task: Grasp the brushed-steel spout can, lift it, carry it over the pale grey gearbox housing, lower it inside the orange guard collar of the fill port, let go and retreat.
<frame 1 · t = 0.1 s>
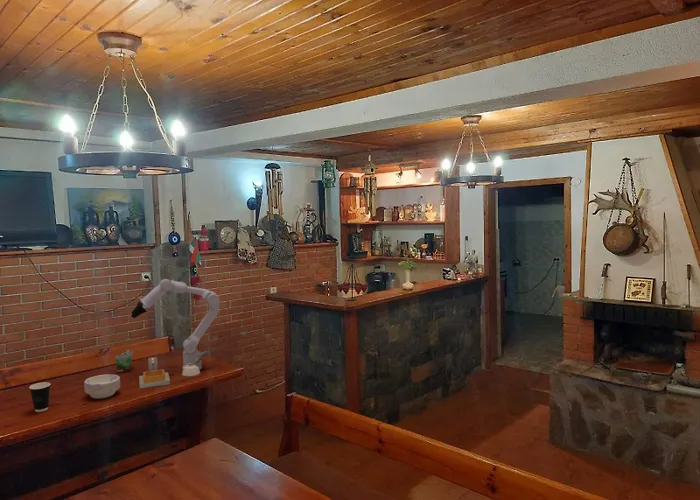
hand: (132, 315, 264), 32 cm above the table, tool tilted 50°, fingers open, 7 cm apart
dixie cup: (41, 410, 223), on the table
food container: (127, 370, 276), on the table
paper bowls: (103, 395, 240), on the table
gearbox: (154, 381, 257), on the table
spout can: (153, 372, 271), on the table
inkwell: (197, 371, 273), on the table
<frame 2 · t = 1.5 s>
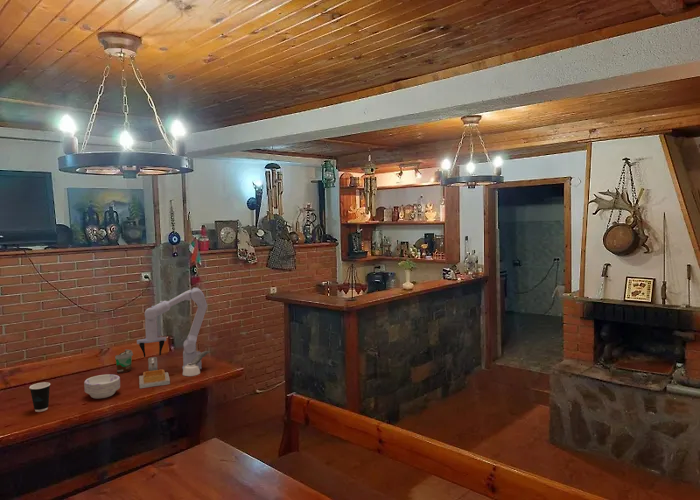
hand: (152, 355, 271), 9 cm above the table, tool pointing down, fingers open, 7 cm apart
nothing on the table moved.
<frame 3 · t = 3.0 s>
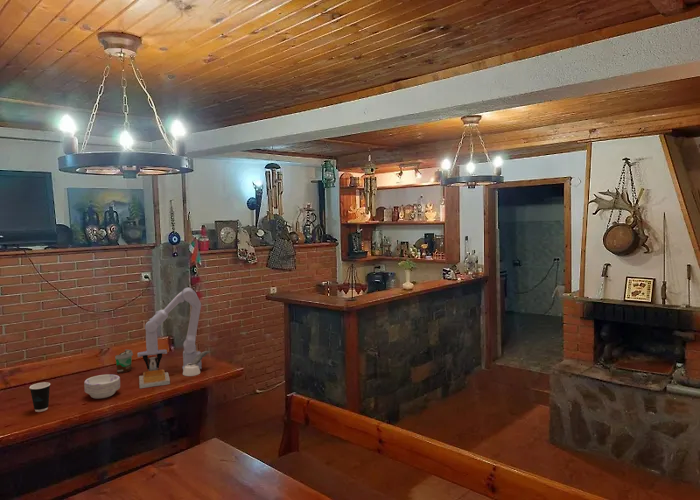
hand: (153, 368, 271), 2 cm above the table, tool pointing down, fingers closed on spout can, 4 cm apart
spout can: (153, 372, 271), on the table, touching gripper
everything else where it was.
when the fingers open (5 cm above the table, at t = 7.5 s): spout can stays where it is, resting on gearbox.
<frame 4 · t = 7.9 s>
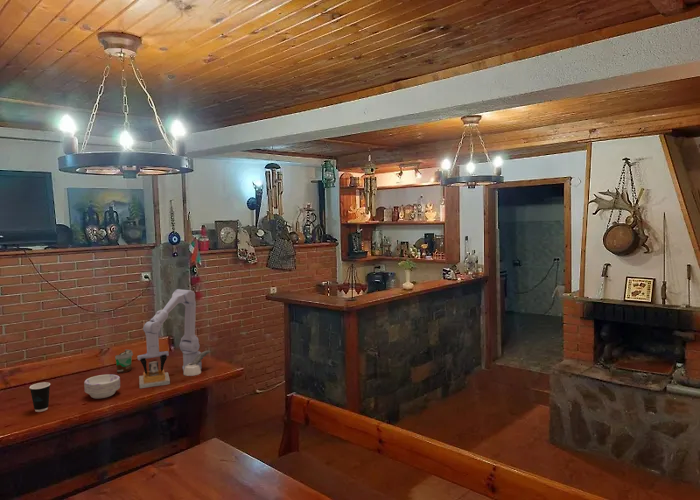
hand: (153, 371, 256), 5 cm above the table, tool pointing down, fingers open, 7 cm apart
spout can: (154, 378, 257), point 2 cm above the table, touching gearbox
everything else where it was.
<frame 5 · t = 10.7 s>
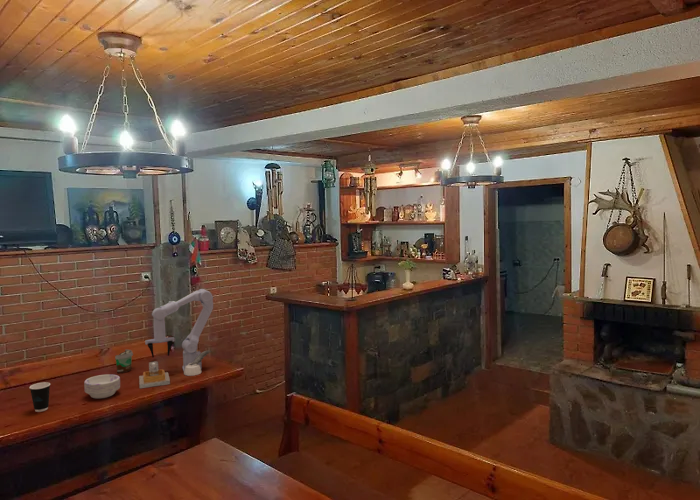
hand: (160, 356, 269), 9 cm above the table, tool pointing down, fingers open, 7 cm apart
at the end: spout can 0.2 cm off-centre on the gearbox, point 2.0 cm above the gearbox's base; spout can tilted 0°; the gripper is holding nothing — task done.
